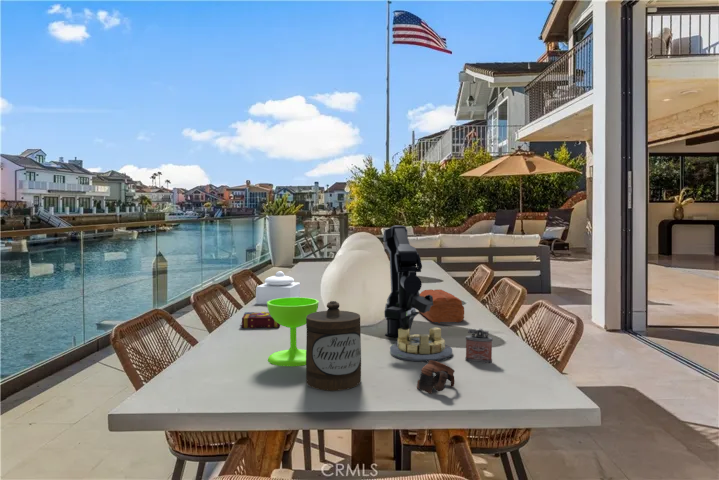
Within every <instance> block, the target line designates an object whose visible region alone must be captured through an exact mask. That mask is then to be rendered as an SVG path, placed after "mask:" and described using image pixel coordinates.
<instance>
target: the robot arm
mask: <svg viewBox="0 0 719 480" xmlns="http://www.w3.org/2000/svg"><path fill="white" fill-rule="evenodd" d="M382 236H383V238H382V239H383V242H384V246H385V249H386V250H387V252H388V254H389V270H390V271H389V273H390V294H389V295H388V297H387V299H386V303H385V306H384V312H383V313H384V319H385V320H386V332H385V333H384V336H387V337H395V338H398V329H399V328H409V329H410V330H411V329H412V325H413V322H414V319H415V317H417V316H418V315H419V314H421V313H425V312H427V311H430V308H431V306H433V297H432V296H431V295H427V296H425V297H424V296H419V295H420V290H421V289H422V285H423V283H422V281H421V279H420V277H419V276H417V273H421V272H422V269H423V265H422V258H421V256H420V254H419V253H418V251H417V249H416V247H414V246H413V245H411V244H410V241H409V238H408V229H407V227H406V226H405V225H393V226H391V227H390V228H387V229H385V230H384V231H383V235H382ZM418 310H419V311H420V312H421V313H420V312H419V311H418Z"/></svg>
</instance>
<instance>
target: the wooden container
mask: <svg viewBox="0 0 719 480" xmlns="http://www.w3.org/2000/svg"><path fill="white" fill-rule="evenodd" d="M326 308H327V310H320V311H317V312H314V313H311V314H309V315H307V317H306V324H305V326H306V348H305V350H306V365H305V371H306V372H305V374H306V375H305V380H306V381H305V382H306V384H307V385H308V386H309V387H310V388H313V389H316V390H321V391H328V392H329V391H330V392H333V391H334V392H335V391H345V390H350V389H352V388H355V387H357V386H358V385H360V383H361V382H362V343H361V341H362V340H361V339H362V338H361V334H362V333H361V315H360V314H359V313H358V312H355V311H349V310H348V311H347V310H340V309H339V308H340V303H339V302H338V301H336V300H330V301H329V302H328V303H327V304H326Z"/></svg>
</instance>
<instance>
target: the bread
mask: <svg viewBox="0 0 719 480" xmlns="http://www.w3.org/2000/svg"><path fill="white" fill-rule="evenodd" d="M427 295H431V296H432V297H433V306H431V308H430V311H427V312H425V313H421V312H420V311H419V310H417V312H420V313H419V314H421V315H422V316H424V317H425V318H426V319H428V321H430V322H432V323H434V322H438V323H437V324H441V323H440V322H457V323H461V321H462V322H463V321H464V319H465V307H464V306H463V301H462V300H461V299H460V298H458V297H457V296H455V295H454V294H452V293H449V292H447V291H445V290H443V289H425V290H422V291H421V292H419V296H424V297H425V296H427Z"/></svg>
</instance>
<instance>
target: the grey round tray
mask: <svg viewBox="0 0 719 480" xmlns="http://www.w3.org/2000/svg"><path fill="white" fill-rule="evenodd" d="M410 342H412V343H419V338H412V339H410ZM429 343H432V340H431V339H429ZM389 350H390V351H389V354H390V355H391V356H392V357H394V358H396V359H399V360H403V361H408V362H418V363H419V362H420V363H428V361H429V360H432V361H437V362H440V361H445V360H448V359H449V358H451V357H452V356H453V348H452V347H451V346H450V345H447V344H445V349H444V350H443V351H442V352H438V353H433V354H432V353H430V354H419V353H418V354H415V353H408V352H404V351H402V350H399V349H398V347H397V342H395V343H394V344H392V345H390V347H389Z"/></svg>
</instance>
